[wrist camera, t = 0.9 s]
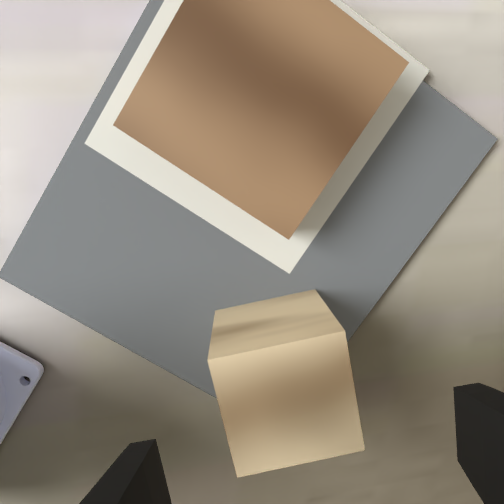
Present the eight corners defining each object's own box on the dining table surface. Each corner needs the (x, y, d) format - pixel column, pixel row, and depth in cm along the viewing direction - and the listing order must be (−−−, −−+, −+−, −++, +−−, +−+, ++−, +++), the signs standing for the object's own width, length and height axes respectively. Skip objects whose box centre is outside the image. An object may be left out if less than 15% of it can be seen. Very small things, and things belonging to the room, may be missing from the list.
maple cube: (331, 379, 19) (364, 450, 14) (236, 400, 19) (237, 477, 14) (315, 289, 18) (345, 330, 13) (215, 310, 18) (207, 360, 13)
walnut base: (281, 231, 17) (288, 240, 15) (131, 133, 16) (112, 125, 14) (382, 80, 16) (409, 62, 14) (229, -37, 15) (228, -79, 12)
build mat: (278, 428, 20) (279, 433, 19) (3, 274, 17) (-3, 276, 17) (498, 130, 17) (504, 129, 17) (208, -97, 15) (207, -105, 14)
